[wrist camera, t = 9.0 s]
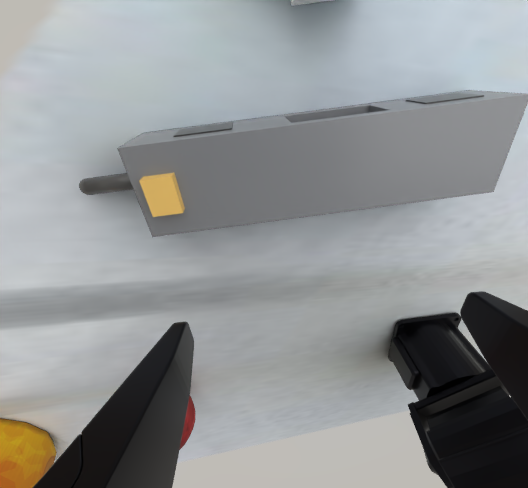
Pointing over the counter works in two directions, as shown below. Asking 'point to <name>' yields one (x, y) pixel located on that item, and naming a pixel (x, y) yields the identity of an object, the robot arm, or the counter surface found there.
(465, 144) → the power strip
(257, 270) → the counter surface
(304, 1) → the block
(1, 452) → the bucket of meat
